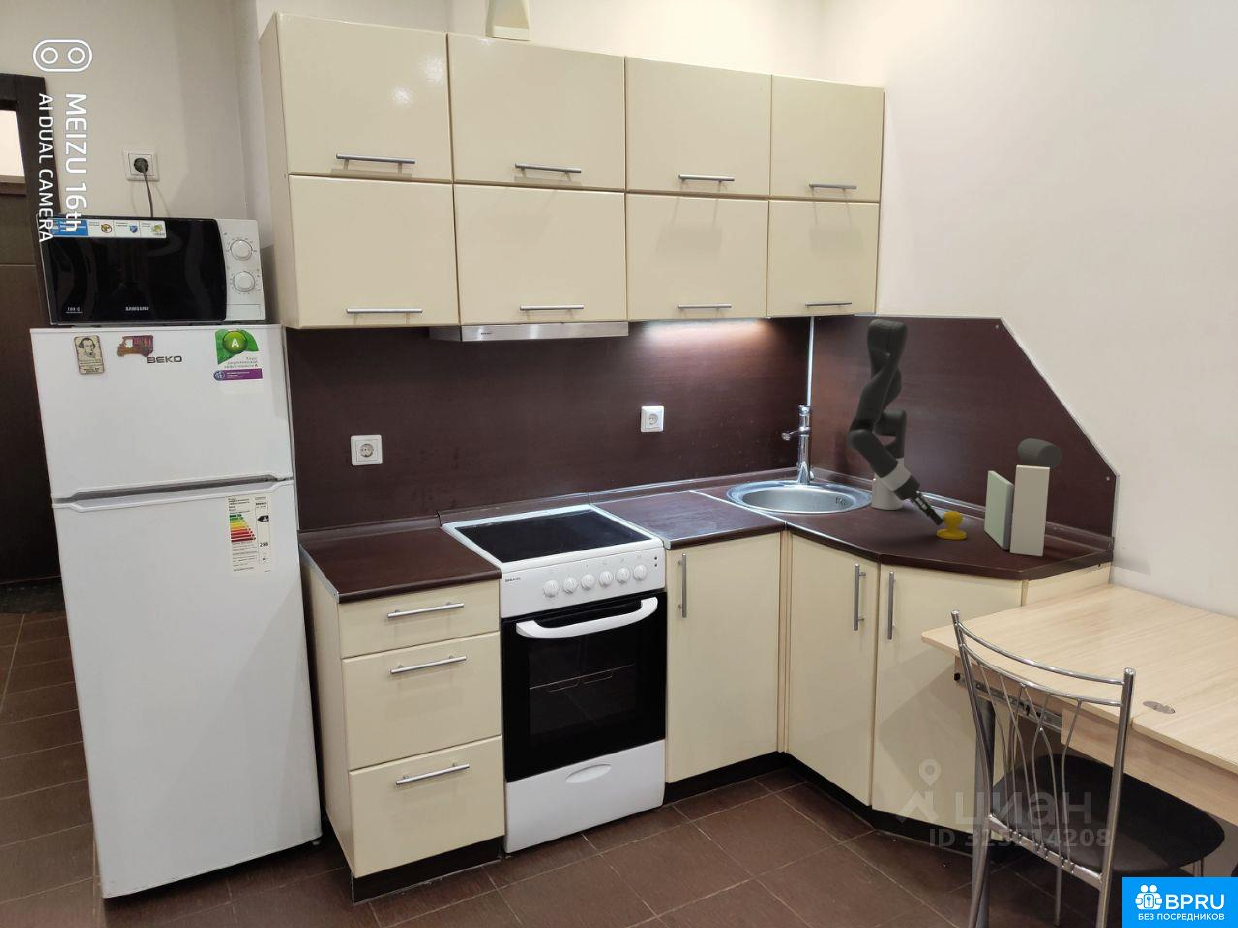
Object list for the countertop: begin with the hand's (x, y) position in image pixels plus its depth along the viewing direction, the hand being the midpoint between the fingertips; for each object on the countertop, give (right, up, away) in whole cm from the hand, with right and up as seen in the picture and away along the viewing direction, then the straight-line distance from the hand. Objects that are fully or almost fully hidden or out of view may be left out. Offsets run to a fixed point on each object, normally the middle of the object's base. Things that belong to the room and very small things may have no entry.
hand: (940, 522), depth 260 cm
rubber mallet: (+23, -6, -9) cm, 25 cm away
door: (+14, -4, -6) cm, 16 cm away
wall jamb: (+17, -7, -17) cm, 25 cm away
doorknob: (+3, -4, 0) cm, 5 cm away
